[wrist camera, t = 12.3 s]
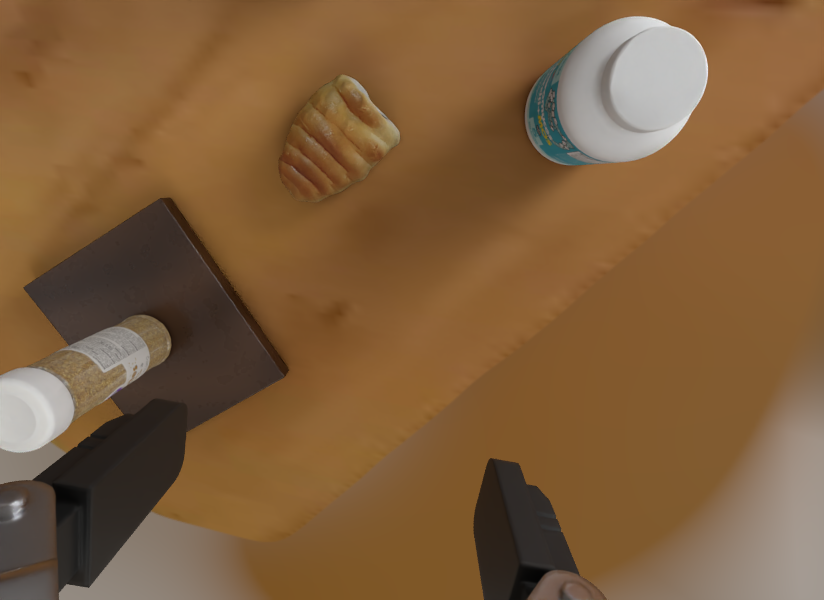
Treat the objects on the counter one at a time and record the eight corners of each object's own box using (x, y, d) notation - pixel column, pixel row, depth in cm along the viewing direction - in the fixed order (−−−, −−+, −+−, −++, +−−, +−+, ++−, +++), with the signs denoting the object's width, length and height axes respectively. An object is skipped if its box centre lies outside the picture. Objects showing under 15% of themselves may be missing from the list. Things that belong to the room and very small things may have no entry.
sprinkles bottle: (153, 375, 40) (22, 470, 27) (108, 340, 39) (-50, 420, 26) (185, 337, 39) (66, 417, 26) (139, 300, 38) (-7, 363, 25)
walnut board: (36, 283, 39) (22, 287, 38) (170, 197, 37) (160, 197, 36) (161, 442, 43) (152, 451, 41) (289, 370, 41) (284, 377, 39)
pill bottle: (533, 53, 35) (603, -24, 21) (632, 69, 35) (761, 2, 22) (512, 159, 36) (566, 146, 23) (606, 173, 37) (711, 169, 23)
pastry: (325, 222, 38) (314, 226, 34) (261, 160, 37) (243, 157, 33) (408, 135, 36) (406, 129, 32) (343, 67, 35) (334, 53, 31)
